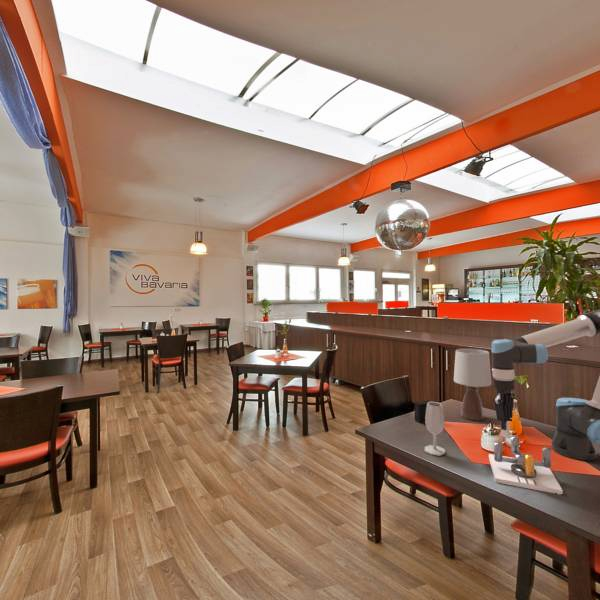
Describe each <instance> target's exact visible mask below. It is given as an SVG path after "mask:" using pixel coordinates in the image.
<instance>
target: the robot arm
mask: <svg viewBox="0 0 600 600" xmlns="http://www.w3.org/2000/svg"><path fill="white" fill-rule="evenodd" d="M585 336H587V337H589V338H591V337H594V336H600V308H599V309H596V310H593V311H590V312H589V311H588V312H585V313H583V314H579V315H578V316H577V317H576V318H575V319H573V320H569V321H566V322H563V323H559V324H557V325H556V324H555V325H553V326H551V327H547V328H544V329H541V330H538V331H534V332H531V333H528V334H525V335H522V336H519V337H514V338H503V339H494V340H492V342H491V364H492V366H491V367H492V369H491V372H492V387H493V388H494V389H496V392H495V393H496V397H493V398H492V401H493V403H494V408H495V415H496V420H497V421H499V422H500V436H501V438H505V439H511V429H510V426H511V425H510V422H513V413H514V401H515V397H516V394H515V393H513V392H512V391H513V390H515V389H516V386H515V385H516V384H515V382H516V381H515V380H514V379H515V378H516V376H515V364H516V365H519V364H520V365H521V364H532V365H533V364H536V365H537V364H545V363H546V362H547V361H548V359H549V352H548V349H547V348H549V347H552V346H556V345H560V344H563V343H567V342H569V341H573V340H576V339H579V338H582V337H585ZM555 408H556V409H555V410H556V413H555V414H556V417H555V418H556V421H555V422H556V423H555V424H556V425H555V427H556V429H555V430H556V431H555V433H554V436H553V438H552V440H551V443H550V444H551V447H550V448H551V450H553V451H554V452H555V453H556V454H557V453H558V454H559V455H562V456H564V457H567V458H571V459H575V460H581V461H594V460H596V459H597V455H598V453H597V449H596V446H595V444H598V445H600V375H599V377H598V379H597V382H596V386H595V389H594V391H593V395H592V398H591V400H588V399H585V398H584V399H583V398H577V397H576V398H575V397H560V398H558V399H557V400H556V404H555Z"/></svg>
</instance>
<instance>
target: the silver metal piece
mask: <svg viewBox="0 0 600 600" xmlns="http://www.w3.org/2000/svg"><path fill="white" fill-rule="evenodd" d="M510 440H511V441H510V442H511V443H510V444H511V445H510V449H511V450H510V453H511V455H513V456H514V457H512V458H506V457H507V456H505V457H502V456H503V443H502V442H501V441H493V442H494V443H493V446H494V447H493V451H494V452H493V453H494V454H493V455H494V460H495V461H497V462H509V463H515V464H512V465H511V471H512V472H514V473H515V474H517V475H519V476H522V477H527V478H534V477H536V476H537V471H536V470H535V469H534V466H542V467H546V468H550V469H551V467H552V448H551V447H549V446H542V447H541V453H542V454H541V460H542V461H538V460H535V455H533V454H531V453H523V452H520V446H519V445H520V437H519V436H517V435H510Z"/></svg>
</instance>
